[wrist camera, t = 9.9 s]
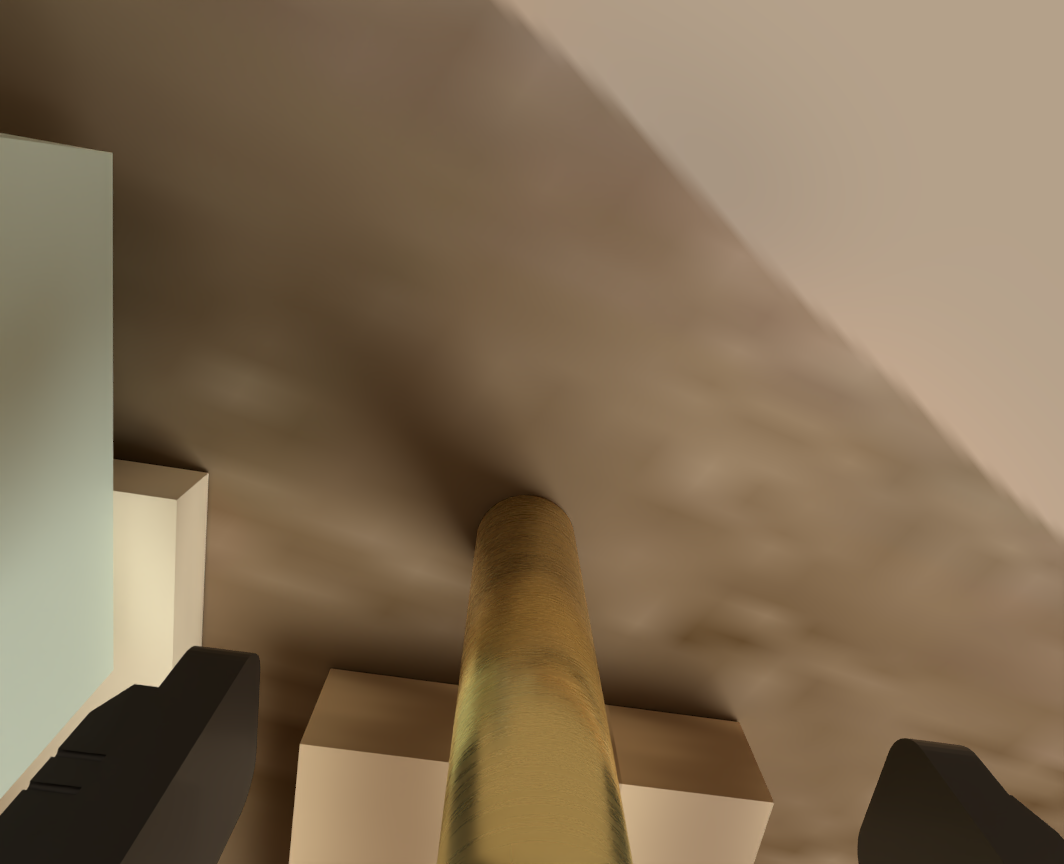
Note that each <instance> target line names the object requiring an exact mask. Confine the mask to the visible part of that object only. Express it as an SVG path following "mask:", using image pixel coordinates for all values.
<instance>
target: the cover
mask: <svg viewBox="0 0 1064 864" xmlns="http://www.w3.org/2000/svg"><path fill="white" fill-rule="evenodd" d="M112 671H113V153H111V152H105V151H100V150H94V149H88V148H83V147H77V146H71V145H66V144H60V143H55V142H49V141H43V140H38V139H32V138H26V137H21V136H15V135H10V134H4V133H0V799H1V798H2V797H3V795H4V794H5V793H6V792H7V791H8V790H9V789H10V787H11V786H12V785H13V784H14V783H15V782H16V781H17V779H18V778H19V777H20V776H21V775H22V774H23V773H24V771H25V770H26V769H27V768H28V767H29V766H30V765H31V763H32V762H33V761H34V760H35V759H36V758H37V757H38V755H39V754H40V753H41V752H42V751H43V750H44V749H45V748H46V746H47V745H48V744H49V743H50V742H51V741H52V740H53V738H54V737H55V736H56V735H57V734H58V733H59V732H60V730H61V729H62V728H63V727H64V726H65V725H66V724H67V722H68V721H69V720H70V719H71V718H72V717H73V716H74V714H75V713H76V712H77V711H78V710H79V709H80V708H81V706H82V705H83V704H84V703H85V702H86V701H87V700H88V698H89V697H90V696H91V695H92V694H93V693H94V692H95V690H96V689H97V688H98V687H99V686H100V685H101V684H102V682H103V681H104V680H105V679H106V678H107V677H108V676H109V674H110V673H111V672H112Z"/></svg>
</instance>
